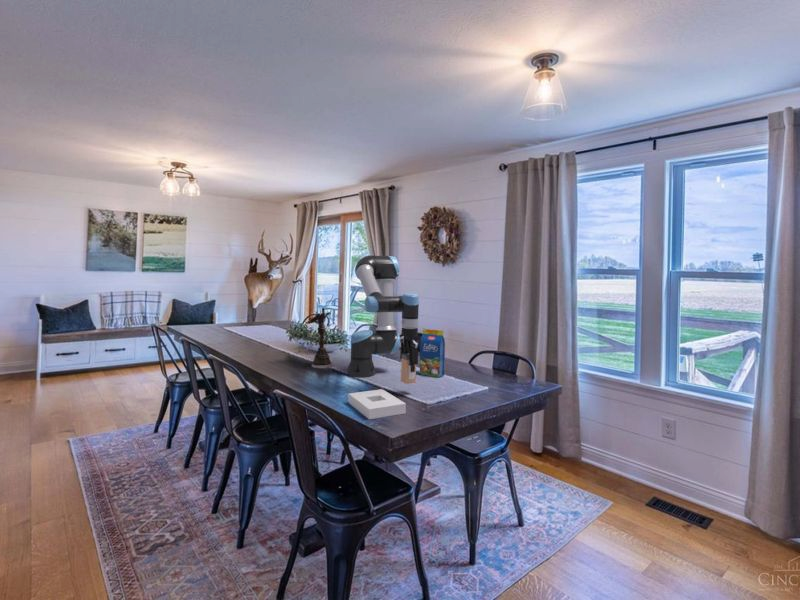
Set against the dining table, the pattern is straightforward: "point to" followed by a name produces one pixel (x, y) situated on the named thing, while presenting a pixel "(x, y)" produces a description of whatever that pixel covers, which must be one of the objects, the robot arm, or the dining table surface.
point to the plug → (406, 369)
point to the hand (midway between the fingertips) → (408, 376)
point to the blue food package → (432, 353)
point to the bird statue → (321, 342)
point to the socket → (376, 403)
